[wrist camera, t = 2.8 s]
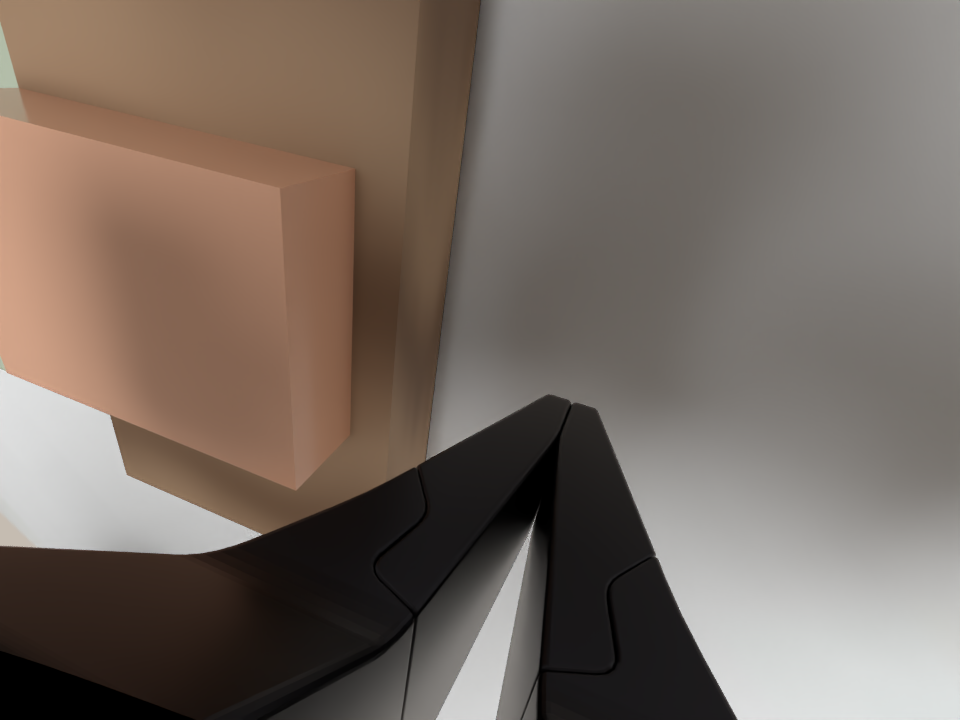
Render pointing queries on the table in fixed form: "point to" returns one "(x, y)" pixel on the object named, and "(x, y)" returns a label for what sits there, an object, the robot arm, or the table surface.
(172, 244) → the terracotta tile
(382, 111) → the walnut stand
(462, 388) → the table surface
